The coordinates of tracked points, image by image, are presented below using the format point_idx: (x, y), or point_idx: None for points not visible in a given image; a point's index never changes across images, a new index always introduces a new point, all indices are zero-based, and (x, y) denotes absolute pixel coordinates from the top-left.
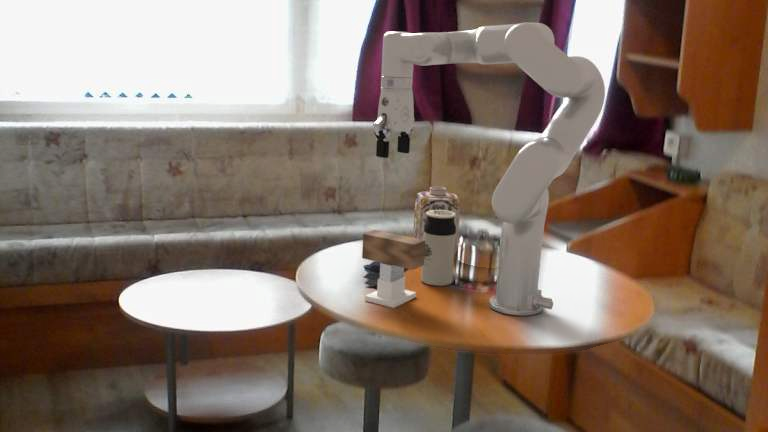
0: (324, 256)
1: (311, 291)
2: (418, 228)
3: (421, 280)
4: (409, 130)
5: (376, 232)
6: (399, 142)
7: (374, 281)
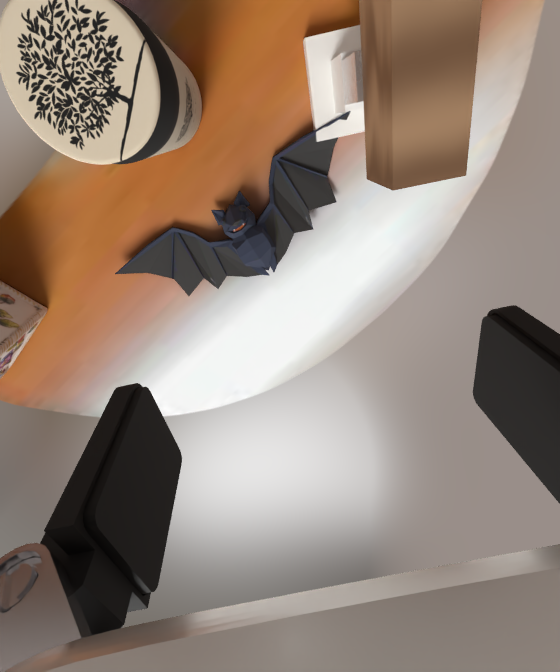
0: (249, 386)
1: (433, 245)
2: (16, 340)
3: (196, 130)
4: (95, 637)
5: (421, 157)
6: (161, 520)
7: (308, 195)
